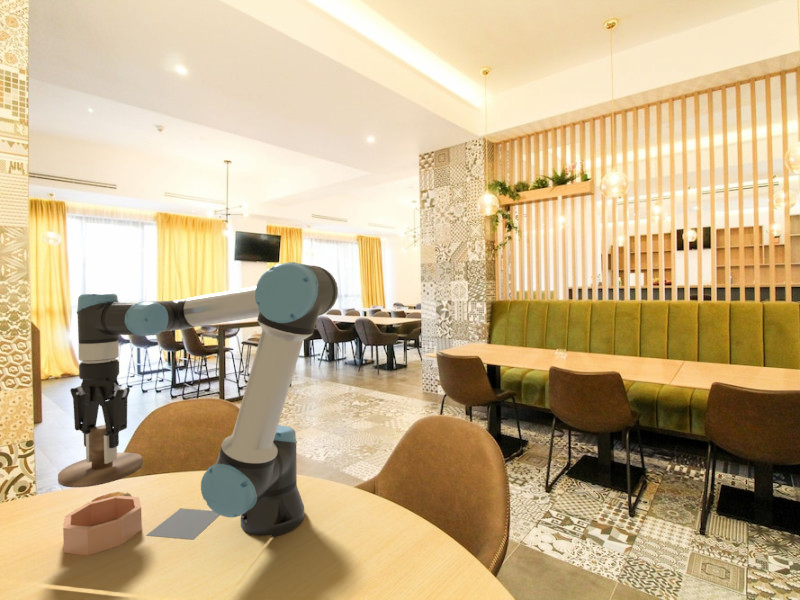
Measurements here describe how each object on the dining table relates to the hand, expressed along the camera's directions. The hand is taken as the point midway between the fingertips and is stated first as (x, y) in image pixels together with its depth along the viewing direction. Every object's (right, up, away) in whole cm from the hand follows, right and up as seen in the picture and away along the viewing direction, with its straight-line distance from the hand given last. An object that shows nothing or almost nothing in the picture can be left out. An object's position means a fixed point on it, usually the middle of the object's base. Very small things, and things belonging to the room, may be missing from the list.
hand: (101, 460), depth 97 cm
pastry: (-7, -18, +14) cm, 24 cm away
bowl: (0, -18, 0) cm, 18 cm away
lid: (0, -3, 0) cm, 3 cm away
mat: (+17, -18, +5) cm, 25 cm away
